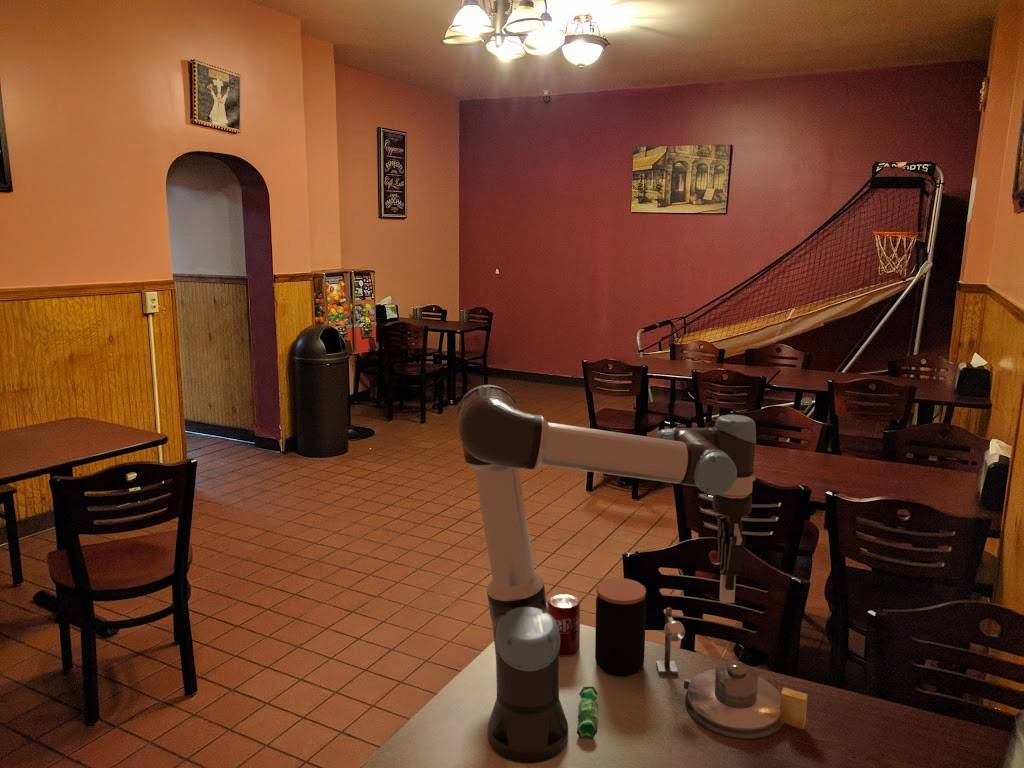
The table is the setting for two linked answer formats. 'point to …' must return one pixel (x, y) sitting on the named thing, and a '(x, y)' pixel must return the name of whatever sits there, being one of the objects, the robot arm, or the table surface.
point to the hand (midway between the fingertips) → (726, 601)
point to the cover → (736, 684)
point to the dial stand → (672, 633)
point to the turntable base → (728, 733)
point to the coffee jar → (620, 626)
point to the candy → (587, 712)
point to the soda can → (566, 622)
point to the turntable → (746, 720)
